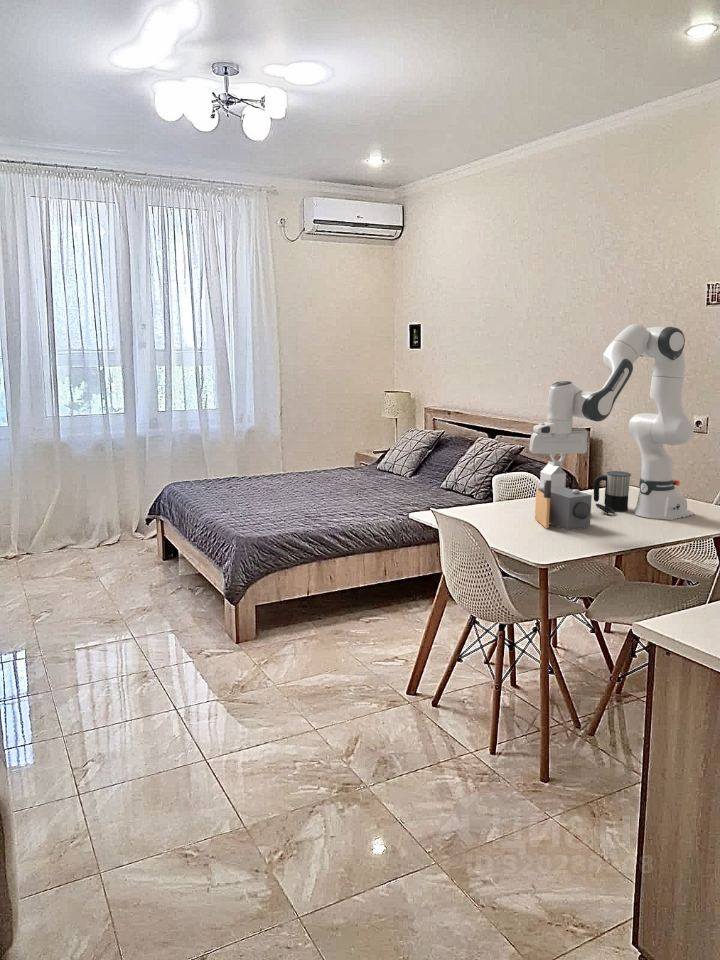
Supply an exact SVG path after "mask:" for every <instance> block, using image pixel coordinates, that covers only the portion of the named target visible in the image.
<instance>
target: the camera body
mask: <svg viewBox="0 0 720 960" xmlns="http://www.w3.org/2000/svg"><path fill="white" fill-rule="evenodd" d="M537 490H539V491H541V492H542V493H544V488H540V487H538V489H537ZM592 497H593V495H592V494H589V493H585V492H582V491H580V489H578V488H577V489H576V488H575V489H574V488H573V489H571V488H569V487H566V486H565V487H562V486H556V487H551V497H550V511H549V523H550V524H549V525H552V526H554V525H555V527H557V526H558V527H557V528H559V529H562V528H563V530H565V529H566V530H565V531H573V530H572V529H575V530H581V529H580V528H582V529H589V528H588V527H590V528H591V516H592Z"/></svg>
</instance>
